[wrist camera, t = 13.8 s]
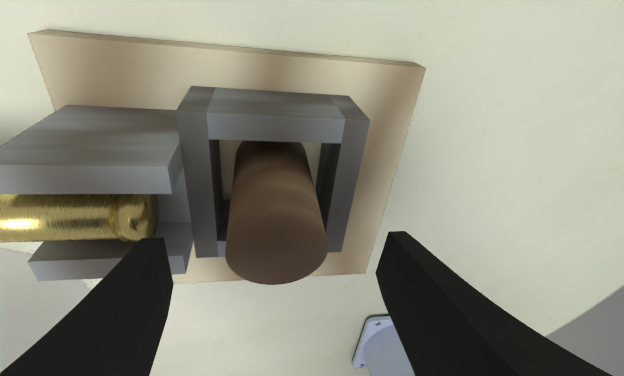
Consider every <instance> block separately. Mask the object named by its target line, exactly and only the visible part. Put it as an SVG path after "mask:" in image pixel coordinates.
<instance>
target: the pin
mask: <svg viewBox="0 0 624 376" xmlns="http://www.w3.org/2000/svg"><path fill="white" fill-rule="evenodd" d="M158 218H159V204H158V197H157V194H0V243H2V242H38V241H73V240H109V239H120V240H121V241H122V242H138V241H139V240H140V239H141V238H153V237H154V236H155V233H156V230H157V226H158Z"/></svg>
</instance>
